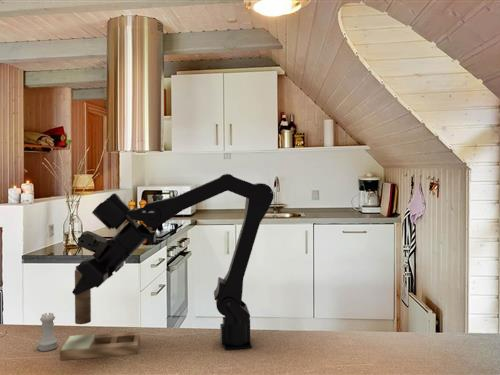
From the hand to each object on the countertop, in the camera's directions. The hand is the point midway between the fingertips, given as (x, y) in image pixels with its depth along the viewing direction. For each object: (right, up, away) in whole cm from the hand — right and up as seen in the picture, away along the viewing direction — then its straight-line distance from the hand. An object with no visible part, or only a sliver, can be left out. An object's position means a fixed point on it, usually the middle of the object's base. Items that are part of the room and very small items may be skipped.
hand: (76, 291), depth 98 cm
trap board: (+6, -14, +1) cm, 15 cm away
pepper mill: (+1, -7, 0) cm, 7 cm away
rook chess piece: (-8, -14, +2) cm, 16 cm away
